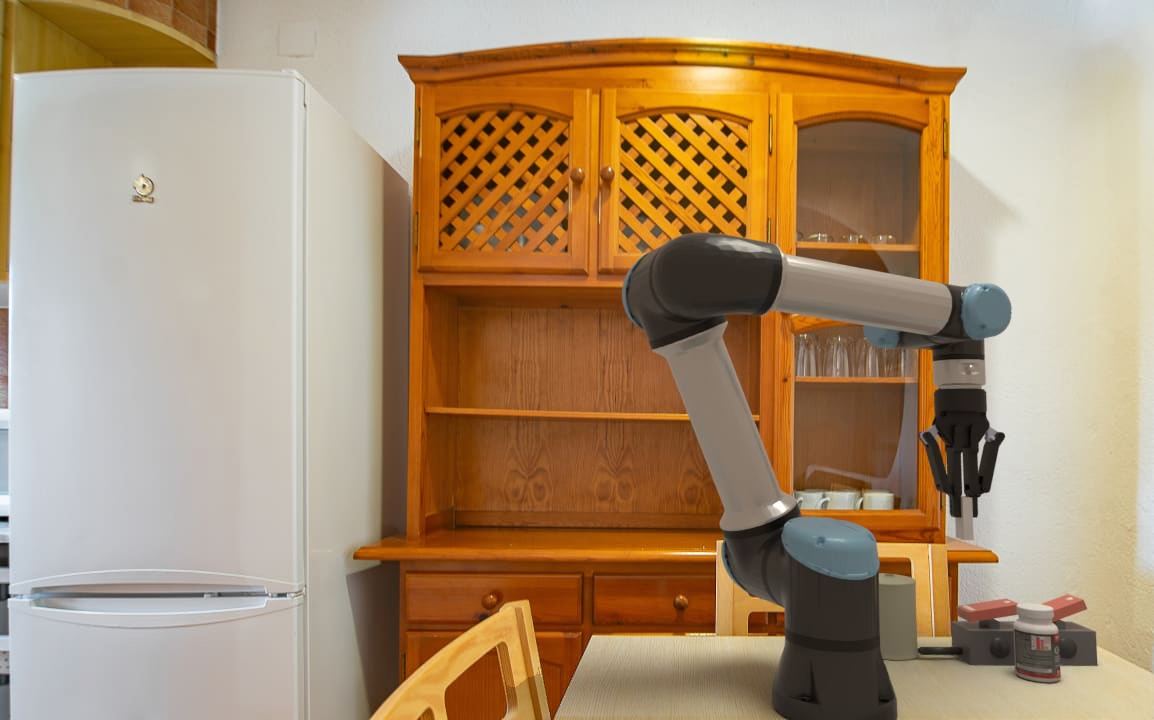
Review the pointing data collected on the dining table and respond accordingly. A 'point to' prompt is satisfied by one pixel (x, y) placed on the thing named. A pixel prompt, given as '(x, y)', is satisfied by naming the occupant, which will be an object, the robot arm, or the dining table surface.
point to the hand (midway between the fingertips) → (964, 538)
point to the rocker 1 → (987, 610)
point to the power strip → (996, 643)
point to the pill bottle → (1036, 643)
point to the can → (897, 617)
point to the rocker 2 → (1066, 606)
